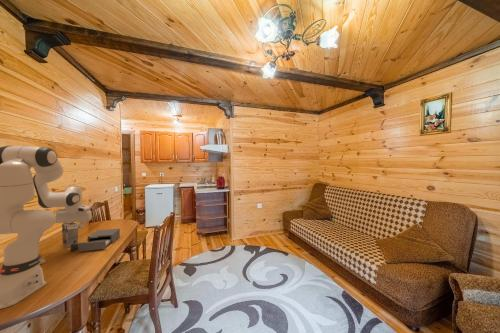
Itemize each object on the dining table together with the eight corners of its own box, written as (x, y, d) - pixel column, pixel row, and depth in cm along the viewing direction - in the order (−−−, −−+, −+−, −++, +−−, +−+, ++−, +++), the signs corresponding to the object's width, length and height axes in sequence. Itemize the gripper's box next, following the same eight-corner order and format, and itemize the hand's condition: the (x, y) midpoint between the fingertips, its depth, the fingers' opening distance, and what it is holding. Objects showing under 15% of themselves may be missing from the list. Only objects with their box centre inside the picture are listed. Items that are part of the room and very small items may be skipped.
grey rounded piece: (75, 251, 132) (75, 245, 132) (69, 251, 131) (69, 246, 131) (79, 248, 136) (79, 243, 136) (72, 249, 135) (72, 243, 135)
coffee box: (62, 245, 141) (61, 224, 141) (73, 242, 147) (72, 221, 146) (67, 248, 137) (66, 226, 137) (78, 244, 143) (78, 223, 142)
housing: (111, 243, 144) (111, 234, 144) (87, 246, 140) (87, 236, 140) (119, 236, 158) (119, 228, 158) (97, 238, 154) (97, 230, 154)
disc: (76, 229, 130) (76, 226, 130) (64, 230, 129) (64, 227, 129) (82, 226, 137) (82, 223, 137) (71, 226, 135) (71, 224, 135)
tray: (105, 248, 134) (105, 241, 134) (78, 251, 130) (78, 243, 130) (113, 240, 147) (113, 234, 147) (89, 242, 143) (89, 235, 143)
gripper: (52, 210, 127) (52, 230, 127) (88, 208, 132) (88, 228, 132) (59, 208, 133) (59, 227, 133) (93, 206, 138) (93, 225, 138)
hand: (73, 227), depth 133 cm, fingers closed on disc, 7 cm apart
